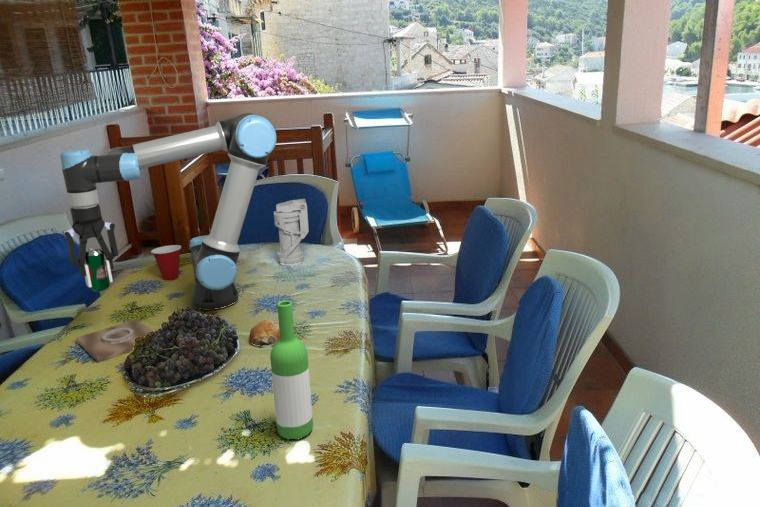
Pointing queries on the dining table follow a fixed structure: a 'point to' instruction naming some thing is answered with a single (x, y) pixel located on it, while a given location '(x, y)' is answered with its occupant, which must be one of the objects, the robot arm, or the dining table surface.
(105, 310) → the dining table surface
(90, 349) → the collar board
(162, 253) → the plastic cup
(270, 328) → the bread roll
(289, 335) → the wine bottle
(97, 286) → the soda can
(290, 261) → the grey tall angular piece
